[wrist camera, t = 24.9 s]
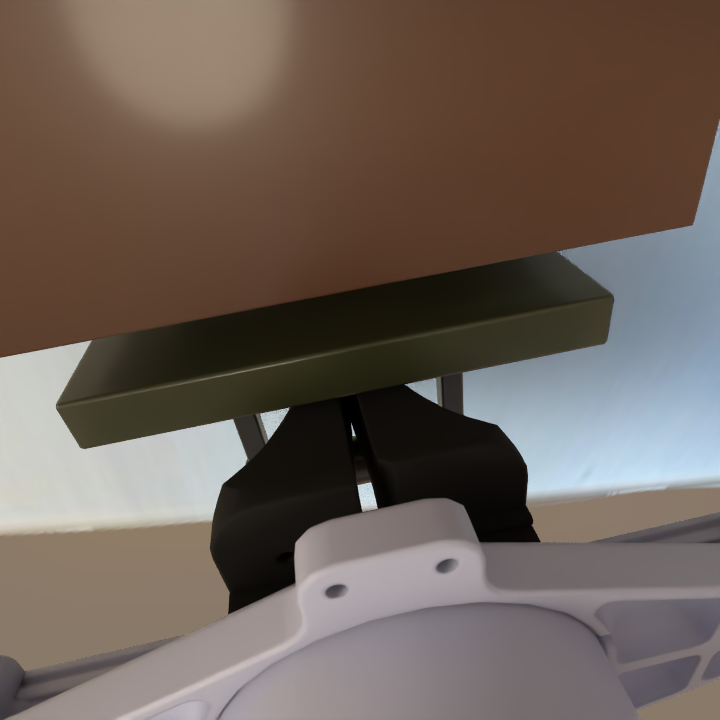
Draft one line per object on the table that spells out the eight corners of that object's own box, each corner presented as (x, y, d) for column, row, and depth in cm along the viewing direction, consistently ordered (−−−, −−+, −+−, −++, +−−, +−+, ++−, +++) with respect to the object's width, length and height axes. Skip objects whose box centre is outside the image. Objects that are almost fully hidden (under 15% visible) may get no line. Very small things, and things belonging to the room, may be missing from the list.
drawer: (490, 360, 19) (581, 496, 14) (195, 419, 18) (165, 587, 13) (504, -449, 9) (878, -1203, 3) (-141, -376, 8) (-914, -1137, 3)
